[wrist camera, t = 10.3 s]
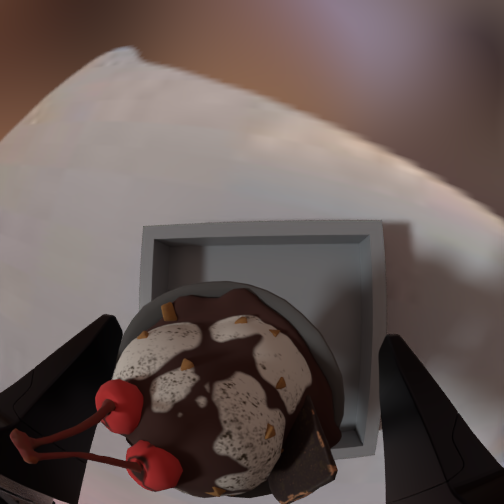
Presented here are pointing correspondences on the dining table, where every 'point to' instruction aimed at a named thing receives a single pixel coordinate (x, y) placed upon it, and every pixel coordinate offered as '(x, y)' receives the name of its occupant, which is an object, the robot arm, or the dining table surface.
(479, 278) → the dining table surface
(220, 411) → the sundae
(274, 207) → the dining table surface
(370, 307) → the tray
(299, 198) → the dining table surface
